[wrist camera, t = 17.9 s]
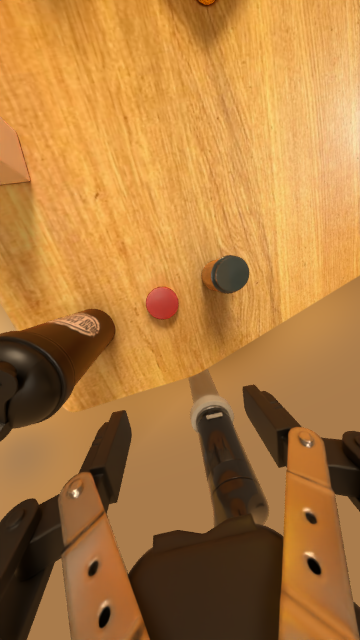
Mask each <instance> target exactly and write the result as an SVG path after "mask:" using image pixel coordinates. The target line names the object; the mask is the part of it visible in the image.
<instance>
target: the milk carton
mask: <svg viewBox="0 0 360 640" xmlns="http://www.w3.org/2000/svg"><path fill="white" fill-rule="evenodd" d="M27 181H30V177H29V174H28V170H27V167H26V164H25V160H24V157H23V154H22V150H21V147H20V143H19V140H18V137H17V134H16V131H15V130H14V129H13V128H12V127H11V126H10V125H9V124H8V123H6V122H5V121H4V120H3V119H2V118H1V117H0V185H2V184H10V183H19V182H27Z"/></svg>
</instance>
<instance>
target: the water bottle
mask: <svg viewBox="0 0 360 640" xmlns="http://www.w3.org/2000/svg"><path fill="white" fill-rule="evenodd" d="M114 334H115V326H114V323H113V321H112V319H111V318H110V316H109V315H107V314H106V313H105V312H103V311H101V310H97V309H88V310H84V311H81V312H78V313H75V314H72V315H68V316H65V317H61V318H59V319H56V320H53V321H49V322H47V323H44V324H40V325H37V326H34V327H31V328H28V329H25V330H22V331H10V332H6V333H1V334H0V441H1V440H3V439H4V438H5V437H6V436H7V435H8V434H9V432H10V431H11V429H12V428H20V427H24V426H28V425H31V424H35V423H39V422H42V421H44V420H46V419H48V418H50V417H51V416H52V415H54V414H55V413H56V412H57V411H58V410H59V409H60V408H61V406H62V405H63V404H64V403H65V402H66V400H67V399H68V398H69V396H70V395H71V393H72V391H73V388H74V386H75V385H76V383H77V382H78V381H79V380H80V379H81V377H82V376H83V375H84V374H85V372H86V371H87V370H88V369H89V367H90V366H91V365H92V364H93V362H94V361H95V360H96V359H97V357H98V356H99V355H100V354H101V353H102V351H103V350H104V349H105V348H106V346H107V345H108V344H109V343H110V341H111V340H112V339H113V337H114Z"/></svg>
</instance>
